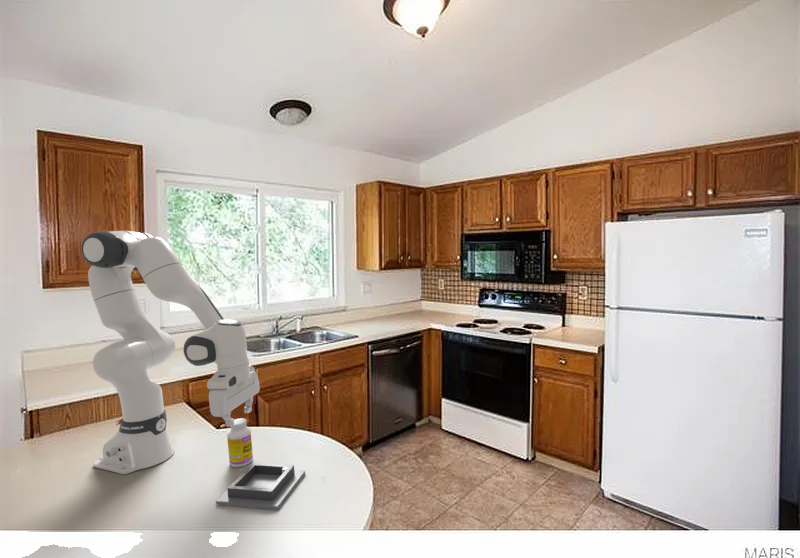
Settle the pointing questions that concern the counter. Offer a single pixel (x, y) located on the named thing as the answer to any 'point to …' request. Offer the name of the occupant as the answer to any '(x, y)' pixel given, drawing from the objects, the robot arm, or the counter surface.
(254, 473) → the pocket plate
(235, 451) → the supplement bottle
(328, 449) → the counter surface
